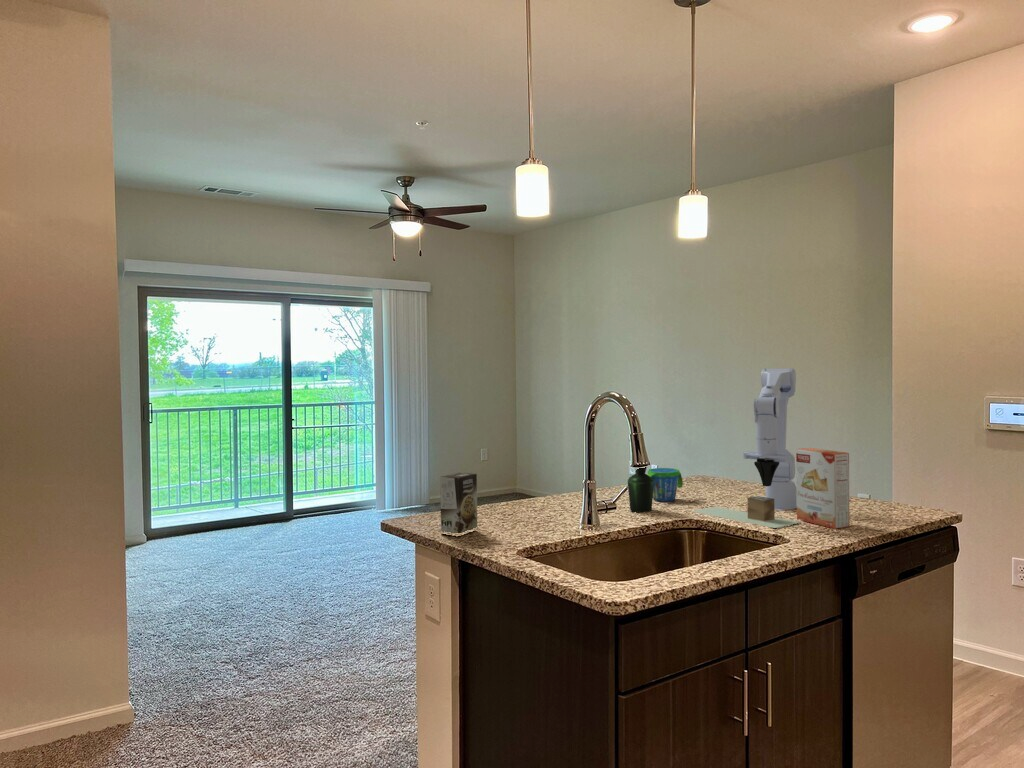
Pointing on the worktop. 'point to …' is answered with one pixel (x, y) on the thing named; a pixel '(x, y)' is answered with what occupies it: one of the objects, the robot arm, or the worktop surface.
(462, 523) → the coffee box
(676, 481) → the snack cup
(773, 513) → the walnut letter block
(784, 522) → the pale green mat
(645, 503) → the potion bottle
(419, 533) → the worktop surface
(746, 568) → the worktop surface
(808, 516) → the cracker box
